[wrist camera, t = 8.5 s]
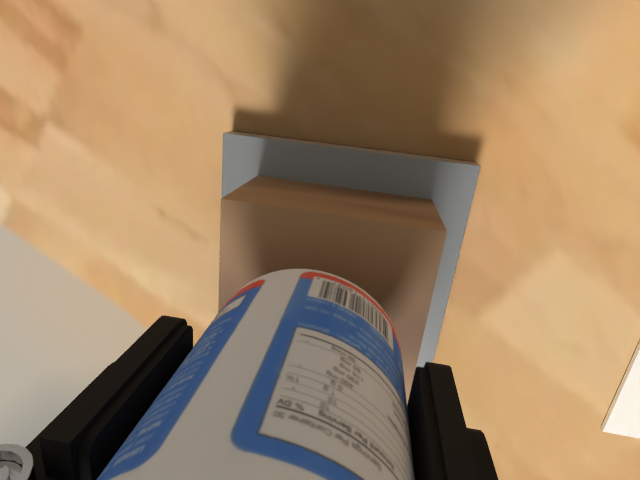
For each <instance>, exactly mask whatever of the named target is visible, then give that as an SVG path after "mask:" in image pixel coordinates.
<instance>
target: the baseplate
mask: <svg viewBox="0 0 640 480" xmlns="http://www.w3.org/2000/svg"><path fill="white" fill-rule="evenodd" d="M480 167H481V166H480V165H478V164H477V163H476V162H470V161H462V160H454V159H446V158H439V157H431V156H423V155H415V154H407V153H399V152H392V151H384V150H376V149H368V148H360V147H352V146H344V145H337V144H329V143H321V142H313V141H305V140H297V139H289V138H282V137H274V136H266V135H258V134H250V133H242V132H235V131H230V132H226V133H223V160H222V198H223V197H224V196H226V195H228V194H229V193H231V192H232V191H234V190H235V189H237V188H239V187H240V186H242V185H243V184H245V183H247V182H248V181H250V180H251V179H253V178H254V177H256V176H265V177H272V178H280V179H287V180H294V181H301V182H309V183H316V184H323V185H330V186H338V187H345V188H352V189H359V190H367V191H374V192H381V193H388V194H396V195H403V196H410V197H417V198H425V199H432V201H433V203H434V205H435V207H436V209H437V211H438V213H439V215H440V218H441V220H442V222H443V224H444V226H445V228H446V230H447V234H446V239H445V243H444V247H443V252H442V256H441V260H440V265H439V269H438V273H437V278H436V282H435V287H434V291H433V295H432V300H431V304H430V308H429V313H428V317H427V321H426V326H425V330H424V335H423V339H422V343H421V348H420V352H419V356H418V361H417V365H416V367H417V366H418V367H424V365H425V363H426V362H431V363H433V359H434V355H435V351H436V347H437V343H438V339H439V335H440V330H441V326H442V322H443V318H444V314H445V310H446V306H447V302H448V298H449V294H450V290H451V286H452V281H453V277H454V273H455V269H456V265H457V261H458V257H459V253H460V249H461V245H462V241H463V237H464V232H465V228H466V224H467V220H468V216H469V212H470V208H471V204H472V200H473V196H474V192H475V188H476V184H477V179H478V175H479V171H480Z"/></svg>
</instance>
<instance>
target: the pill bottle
mask: <svg viewBox="0 0 640 480" xmlns="http://www.w3.org/2000/svg"><path fill="white" fill-rule="evenodd" d="M97 480H415V476H414V467H413V458H412V448H411V439H410V430H409V421H408V412H407V402H406V392H405V382H404V372H403V361H402V354H401V349H400V344H399V340H398V336H397V333H396V331H395V328H394V326H393V324H392V322H391V320H390V319H389V317H388V315H387V314H386V312H385V311H384V310H383V308H382V307H381V306H380V305H379V304H378V303H377V301H376V300H375V299H373V298H372V297H371V296H370V295H369V294H368V293H367V292H365V291H364V290H363V289H361V288H360V287H358V286H357V285H355V284H353V283H351V282H350V281H348V280H346V279H343V278H341V277H338V276H336V275H333V274H330V273H327V272H323V271H318V270H312V269H286V270H279V271H275V272H271V273H268V274H266V275H263V276H260V277H258V278H256V279H254V280H252V281H251V282H249V283H247V284H246V285H245V286H243V287H242V288H241V289H240V290H239V291H237V292H236V293H235V294H234V295H233V296H232V297H231V298H230V299H229V301H228V302H227V303H226V304H225V305H224V306H223V308H222V309H221V310H220V312H219V313H218V314H217V316H216V317H215V318H214V320H213V321H212V323H211V324H210V325H209V327H208V328H207V329H206V331H205V332H204V334H203V335H202V336H201V338H200V339H199V340H198V342H197V343H196V344H195V346H194V347H193V348H192V350H191V351H190V353H189V354H188V355H187V357H186V358H185V360H184V361H183V362H182V364H181V365H180V366H179V368H178V369H177V371H176V372H175V374H174V375H173V376H172V378H171V379H170V380H169V381H168V383H167V384H166V386H165V387H164V388H163V389H162V391H161V392H160V393H159V395H158V396H157V397H156V399H155V400H154V402H153V403H152V405H151V406H150V407H149V409H148V410H147V411H146V413H145V414H144V416H143V417H142V418H141V420H140V421H139V423H138V424H137V425H136V427H135V428H134V429H133V431H132V432H131V433H130V434H129V436H128V437H127V439H126V441H125V442H124V443H123V444H122V446H121V447H120V448H119V450H118V451H117V452H116V454H115V455H114V456H113V458H112V459H111V460H110V462H109V463H108V465H107V466H106V467H105V469H104V470H103V472H102V473H101V474H100V476H99V477H98V478H97Z"/></svg>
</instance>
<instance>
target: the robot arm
mask: <svg viewBox="0 0 640 480" xmlns="http://www.w3.org/2000/svg"><path fill="white" fill-rule="evenodd" d="M192 348H193V329H192V327H191V326H188V325H187V322H186V320H185V319H181V318H176V317H170V316H161V317H160V318H159V319H158V320H157V321H156V322H155V323H154V324H153V325H152V326H151V327H150V328H149V329H148V330H147V331H146V332H145V333H144V334H143V335H142V336H141V337H140V338H139V339H138V340H137V341H136V342H135V343H134V344H133V345H132V346H131V347H130V348H129V349H128V350H127V351H125V352H124V354H122V355H121V356H120V358H118V359H117V360H116V361H115V362H114V363H112V364H110V365H109V366H108V367H107V368H106V369H105V370H104V371H103V372H102V373H101V374H100V375H99V376H98V377H97V378H96V379H95V380H94V381H93V382H92V383H91V384H89V386H88V387H87V388H85V390H83V391H82V392H81V393H80V394H79V395H78V396H77V397H76V398H75V399H74V400H73V401H72V402H71V403H70V404H69V405H68V406H67V407H66V408H65V409H64V410H63V411H62V412H61V413H60V414H59V415H58V416H57V417H56V418H55V419H54V420H53V421H52V422H51V423H50V424H49V425H48V426H47V427H46V428H45V429H44V430H43V431H42V432H41V433H40V434H39V435H38V436H37V437H36V438H35V439H34V440H33V441H32V442H31V443H30V444H28V445H27V446H26V447H25V448H24V447H22V446H19V445H14V444H2V445H0V480H97V478H98V477H99V476H100V474H101V473H102V472H103V470H104V469H105V467H106V466H107V465H108V463H109V462H110V460H111V459H112V458H113V456H114V455H115V454H116V452H117V451H118V450H119V448H120V447H121V446H122V444H123V443H124V442H125V441H126V439H127V437H128V436H129V434H130V433H131V432H132V431H133V429H134V428H135V427H136V425H137V424H138V423H139V421H140V420H141V418H142V417H143V416H144V414H145V413H146V411H147V410H148V409H149V407H150V406H151V405H152V403H153V402H154V400H155V399H156V397H157V396H158V395H159V393H160V392H161V391H162V389H163V388H164V387H165V386H166V384H167V383H168V381H169V380H170V379H171V378H172V376H173V375H174V374H175V372H176V371H177V369H178V368H179V366H180V365H181V364H182V362H183V361H184V360H185V358H186V357H187V355H188V354H189V353H190V351H191V350H192ZM407 412H408V421H409V430H410V439H411V448H412V458H413V467H414V476H415V480H498V477H497V474H496V471H495V467H494V464H493V461H492V457H491V454H490V451H489V447H488V444H487V441H486V438H485V436H484V433H483V432H482V431H481V430H475V429H470V428H466V424H465V420H464V416H463V412H462V409H461V405H460V401H459V397H458V393H457V389H456V385H455V381H454V377H453V373H452V369H451V367H450V366H448V365H442V364H436V363H431V362H426V363H425V365H424V367H418V366H417V367H416V369H415V373H414V378H413V382H412V386H411V391H410V395H409V400H408V404H407Z"/></svg>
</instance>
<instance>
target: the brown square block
mask: <svg viewBox="0 0 640 480" xmlns="http://www.w3.org/2000/svg"><path fill="white" fill-rule="evenodd" d="M446 234H447V230H446V228H445V226H444V224H443V222H442V220H441V218H440V215H439V213H438V211H437V209H436V207H435V205H434V203H433V201H432V199H425V198H417V197H410V196H403V195H396V194H388V193H381V192H374V191H367V190H359V189H352V188H345V187H338V186H330V185H323V184H316V183H309V182H301V181H294V180H287V179H280V178H272V177H265V176H256V177H254V178H253V179H251V180H250V181H248V182H247V183H245V184H243V185H242V186H240V187H239V188H237V189H235V190H234V191H232V192H231V193H229V194H228V195H226V196H224V197H223V198H221V221H220V266H219V311H218V313H219V312H220V310H221V309H222V308H223V306H224V305H225V304H226V303H227V302H228V301H229V299H230V298H231V297H232V296H233V295H234V294H235V293H236V292H237V291H239V290H240V289H241V288H242V287H243V286H245V285H246V284H247V283H249V282H251V281H252V280H254V279H256V278H258V277H260V276H263V275H266V274H268V273H271V272H275V271H279V270H286V269H312V270H318V271H323V272H327V273H330V274H333V275H336V276H338V277H341V278H343V279H346V280H348V281H350V282H351V283H353V284H355V285H357V286H358V287H360V288H361V289H363V290H364V291H365V292H367V293H368V294H369V295H370V296H371V297H372V298H373V299H375V300H376V301H377V303H378V304H379V305H380V306H381V307H382V308H383V310H384V311H385V312H386V314H387V315H388V317H389V319H390V320H391V322H392V324H393V326H394V328H395V331H396V333H397V336H398V340H399V344H400V349H401V354H402V361H403V372H404V382H405V392H406V402H407V404H408V400H409V395H410V391H411V386H412V382H413V378H414V373H415V369H416V365H417V361H418V356H419V352H420V348H421V343H422V339H423V335H424V330H425V326H426V321H427V317H428V313H429V308H430V304H431V300H432V295H433V291H434V287H435V282H436V278H437V273H438V269H439V265H440V260H441V256H442V252H443V247H444V243H445V239H446Z"/></svg>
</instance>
